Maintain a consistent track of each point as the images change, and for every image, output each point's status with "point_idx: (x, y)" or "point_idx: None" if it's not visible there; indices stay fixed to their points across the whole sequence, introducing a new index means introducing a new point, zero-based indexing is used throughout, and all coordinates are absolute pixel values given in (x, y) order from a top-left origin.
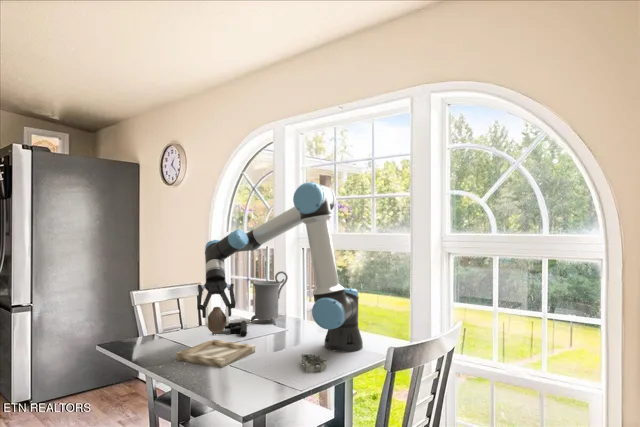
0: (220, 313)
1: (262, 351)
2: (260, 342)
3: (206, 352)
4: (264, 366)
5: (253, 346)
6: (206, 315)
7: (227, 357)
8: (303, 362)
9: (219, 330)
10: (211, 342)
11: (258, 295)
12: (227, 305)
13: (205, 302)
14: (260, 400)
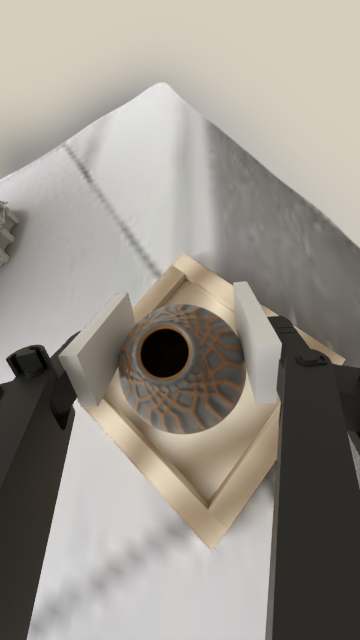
0: (147, 317)
1: None
2: None
3: None
4: (85, 259)
5: None
6: (253, 302)
7: (165, 275)
8: (1, 251)
9: (175, 334)
10: (217, 495)
11: None
12: (53, 378)
13: (313, 400)
14: (132, 116)
